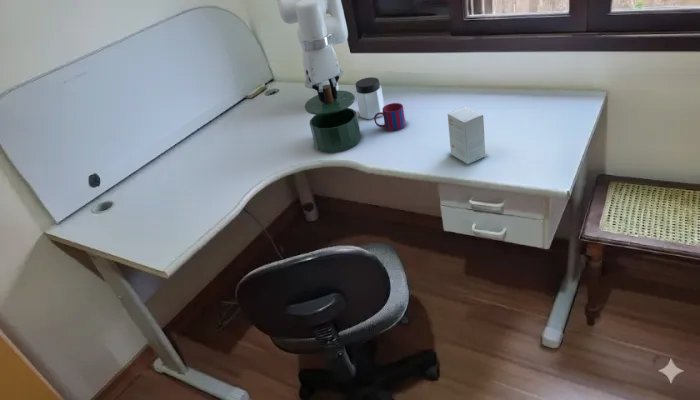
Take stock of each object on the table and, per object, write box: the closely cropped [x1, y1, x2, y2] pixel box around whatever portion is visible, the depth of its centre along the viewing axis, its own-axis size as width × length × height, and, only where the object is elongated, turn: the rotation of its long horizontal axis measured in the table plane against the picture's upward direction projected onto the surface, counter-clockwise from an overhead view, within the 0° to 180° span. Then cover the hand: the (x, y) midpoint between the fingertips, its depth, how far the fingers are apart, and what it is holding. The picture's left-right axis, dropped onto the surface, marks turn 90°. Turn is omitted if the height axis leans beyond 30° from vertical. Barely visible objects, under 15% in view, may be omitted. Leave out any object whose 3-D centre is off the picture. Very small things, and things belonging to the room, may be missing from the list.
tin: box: [309, 107, 362, 154], centre depth 168 cm, size 15×15×8 cm
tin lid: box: [304, 85, 356, 116], centre depth 162 cm, size 16×16×6 cm
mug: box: [373, 102, 406, 132], centre depth 170 cm, size 7×10×7 cm
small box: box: [447, 106, 486, 165], centre depth 144 cm, size 8×6×13 cm
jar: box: [355, 76, 385, 120], centre depth 180 cm, size 9×8×12 cm
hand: (328, 99), depth 163 cm, fingers closed on tin lid, 3 cm apart
